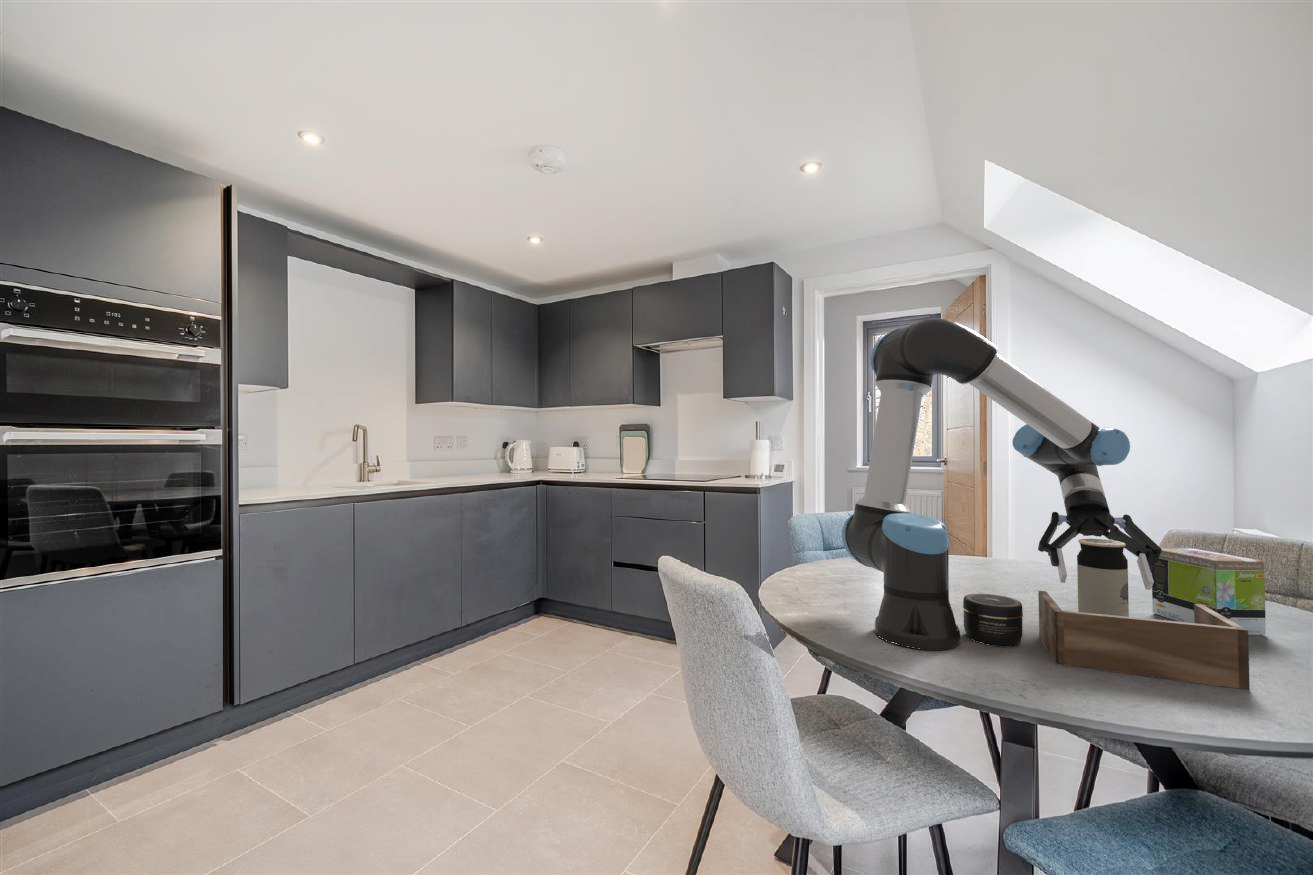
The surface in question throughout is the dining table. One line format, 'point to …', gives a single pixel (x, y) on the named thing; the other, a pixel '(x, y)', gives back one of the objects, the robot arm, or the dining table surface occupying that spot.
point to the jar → (993, 619)
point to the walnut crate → (1148, 645)
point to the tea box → (1209, 587)
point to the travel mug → (1102, 577)
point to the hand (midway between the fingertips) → (1105, 582)
